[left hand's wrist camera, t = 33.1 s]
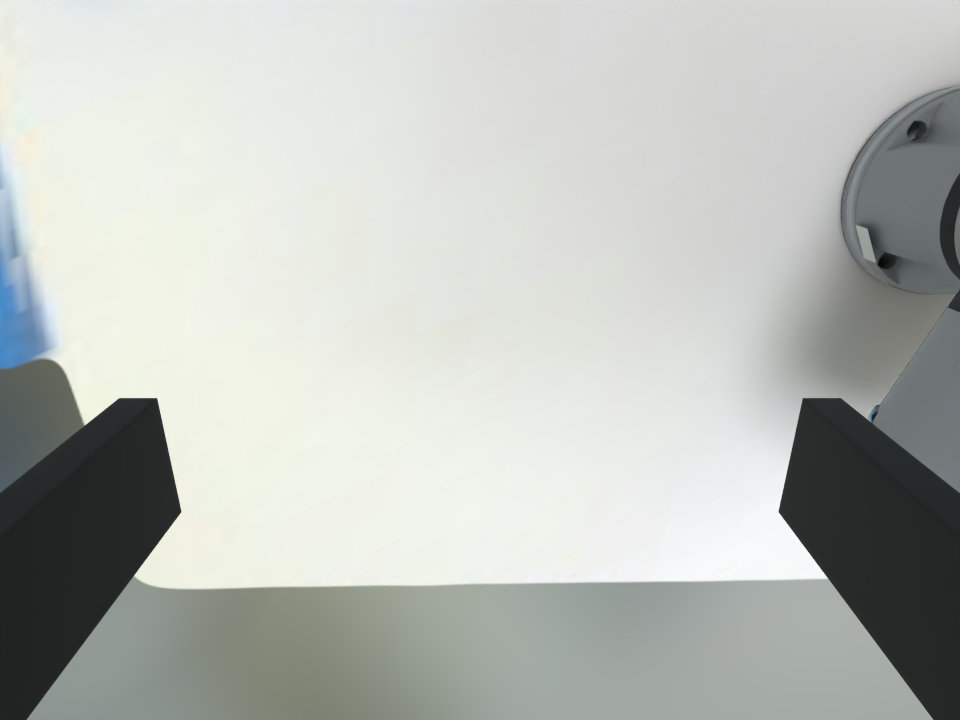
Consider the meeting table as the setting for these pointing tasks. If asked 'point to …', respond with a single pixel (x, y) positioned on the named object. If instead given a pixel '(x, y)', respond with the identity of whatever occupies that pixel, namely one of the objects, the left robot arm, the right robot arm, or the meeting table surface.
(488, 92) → the meeting table surface
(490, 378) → the meeting table surface
